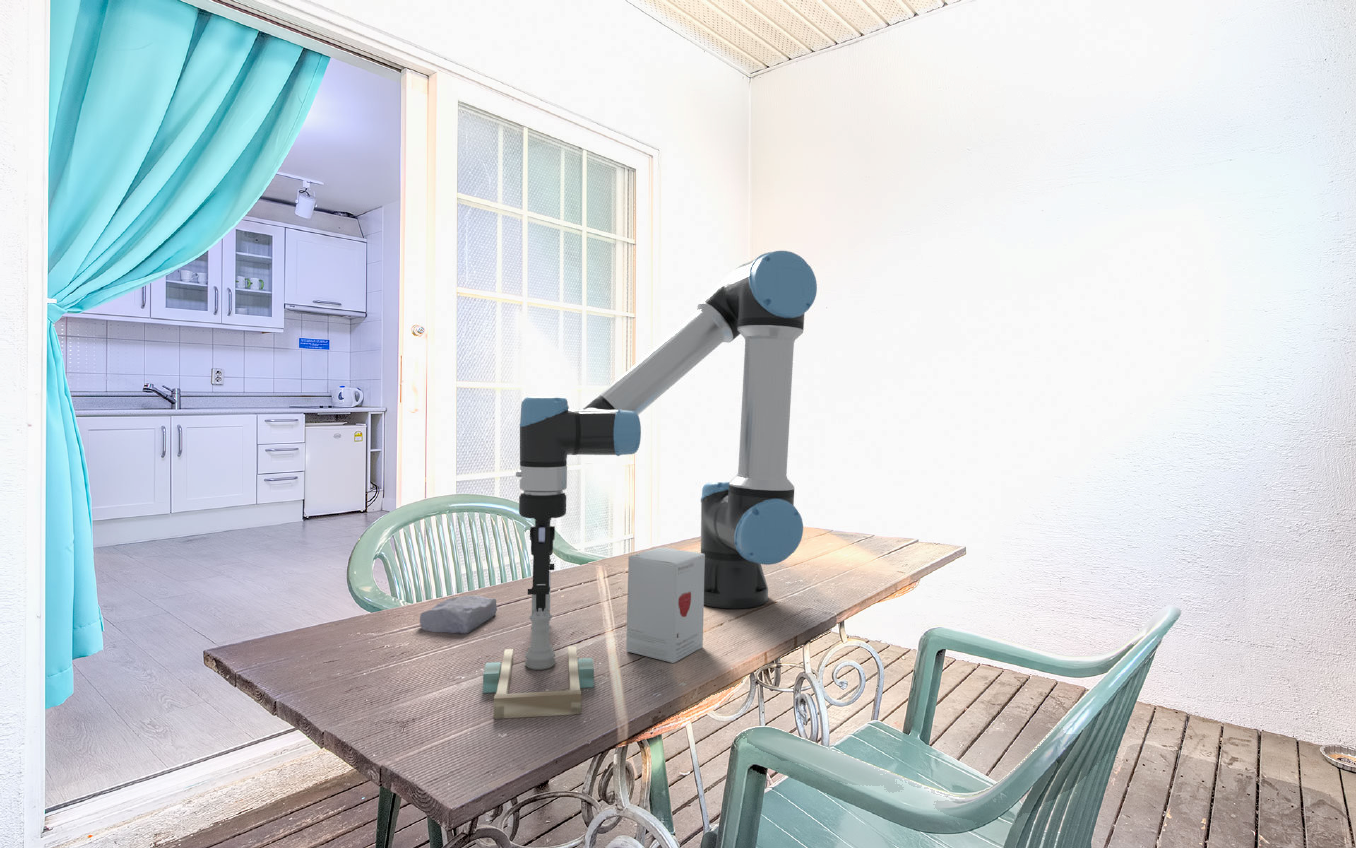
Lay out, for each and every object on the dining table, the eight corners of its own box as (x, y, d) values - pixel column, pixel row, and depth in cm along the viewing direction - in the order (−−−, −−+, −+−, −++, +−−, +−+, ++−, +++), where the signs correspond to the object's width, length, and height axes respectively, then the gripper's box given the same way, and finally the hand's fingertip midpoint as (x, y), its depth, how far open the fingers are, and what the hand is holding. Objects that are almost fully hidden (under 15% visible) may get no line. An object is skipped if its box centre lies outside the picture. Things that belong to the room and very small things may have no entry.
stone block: (415, 642, 117) (470, 635, 115) (410, 613, 118) (465, 605, 116) (451, 623, 129) (502, 616, 127) (447, 596, 129) (498, 589, 127)
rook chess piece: (526, 659, 105) (527, 606, 105) (557, 659, 105) (557, 606, 105) (522, 671, 100) (523, 615, 100) (554, 670, 101) (555, 615, 101)
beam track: (490, 659, 105) (491, 643, 104) (589, 655, 107) (589, 639, 107) (476, 720, 85) (476, 699, 85) (597, 713, 87) (597, 693, 87)
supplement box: (674, 665, 104) (675, 563, 103) (624, 652, 109) (626, 555, 108) (705, 647, 112) (706, 552, 111) (657, 636, 116) (659, 545, 116)
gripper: (523, 483, 127) (521, 600, 127) (514, 502, 102) (513, 648, 103) (565, 482, 128) (564, 599, 129) (567, 502, 103) (565, 646, 104)
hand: (541, 621), depth 116 cm, fingers open, 13 cm apart
